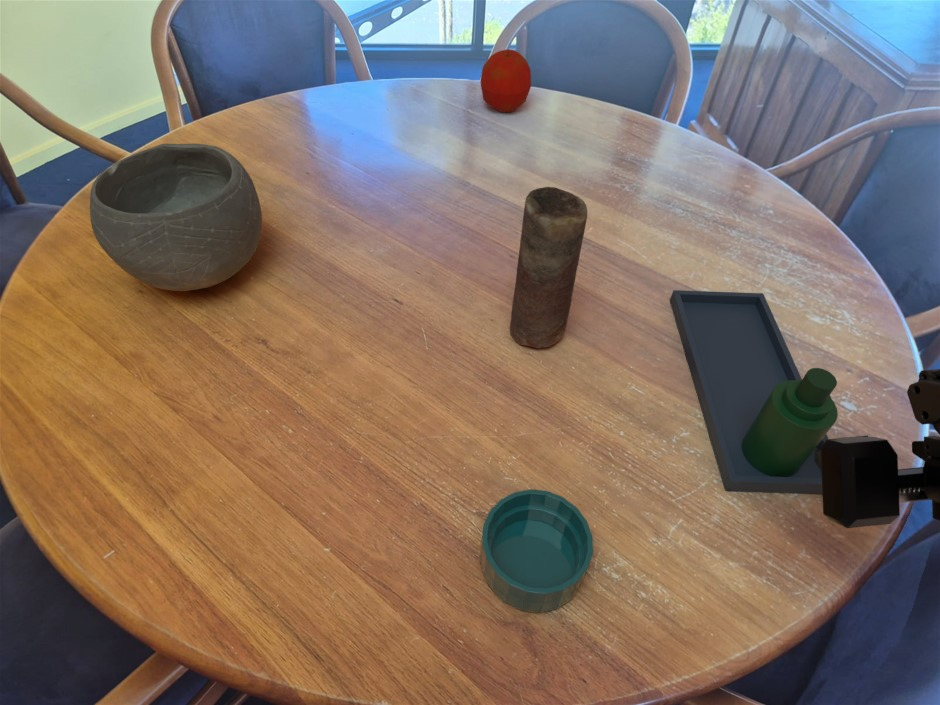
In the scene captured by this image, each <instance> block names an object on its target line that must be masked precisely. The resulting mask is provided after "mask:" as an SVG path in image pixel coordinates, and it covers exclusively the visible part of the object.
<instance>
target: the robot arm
mask: <svg viewBox="0 0 940 705" xmlns="http://www.w3.org/2000/svg"><path fill="white" fill-rule="evenodd" d="M906 395H907V397H908V400H909V403H910V407H911V410H912V413H913V417H914V419H915V420H916V421H917V422H918V423H919V424H921V425H931V426H932V427H933V429H934V430H935V432H936V433H937V434H938V435H939V436H938V435H929V436H923V440H913V441H912V442H911V453H912V454H913V455H914V456H916V457H918V458H919V459H921V460H922V461H923V462H924V464H923V466H917V467H908V468H907V467H906V468H899V458H898V453H897V452H896V450H895V449H894V448H893V446H892V444H891V443H890V442H889V440H888V439H885V438H882V437H875V436H869V435H857V436H846V437H845V436H844V437H837V438H829V439H827V440H826V441H825V442H824V443H823V445H822V446H821V447H820V450H815V462H816V464H817V465H818V467H819V468H820V470H821V474H822V494H821V495H822V515H823V516H824V517H826V518H827V519H828V520H829V521H831V522H833V523H835V524H837V525H839V526H842V527H844V528H846V529H854V528H863V527H872V526H874V527H875V526H883V525H891V524H892V523H893V522H894V521H896V519H897V518H899V517H900V514H901V511H900V504H903V503H912V502H913V503H914V502H923V501H931V510H932V511H931V512H932V514H931V515H932V519H934V520H937V521H939V522H940V368H936V369H935V368H934V369H923V370H921V371H920V372H919V373H918V381H916V382H913V383H911V384H909V386H908V388H907V391H906Z"/></svg>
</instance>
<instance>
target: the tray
mask: <svg viewBox="0 0 940 705" xmlns="http://www.w3.org/2000/svg"><path fill="white" fill-rule="evenodd" d="M669 303H670V307H671V309H672V314H673V317H674V319H675V323H676V327H677V330H678V331H677V332H678V334H679V338H680V341H681V344H682V347H683V351H684V355H685V357H686V361H687V366H688V368H689V371H690V375H691V378H692V383H693V385H694V388H695V392H696V396H697V399H698V403H699V405H700V406H699V407H700V408H701V409H700V410H701V413H702V416H703V419H704V423H705V426H706V429H707V433H708V436H709V440H710V443H711V447H712V450H713V455H714V458H715V462H716V464H717V467H718V471H719V475H720V477H721V481H722V485H723V488H724V491H725V492H743V493H748V492H750V493H770V494H771V493H773V494H805V495H822V474H821V470H820V468H819V467H818V465H817V464H816V462H815V450H820V447H821V446H822V445H823V443H824V442H825V441H826V440H827V439H830V438H829V436H828V433H827V434H826V435H825V436H824V438H823V439H822V440H821V442H820V443H819V444H818V446H817V447H816V448H815V449H814V451H813V452H812V453H811V455H810V456H809V457H808V459H807V460H806V461H805V463H804V464H803V465H802V466H801V468H800V469H799V470H798V472H797V473H795V474H794V475H792V476H789V477H772V476H768V475H766V474H764V473H761V472H760V471H758V470H757V469H755V468H754V467H753V466H752V465H751V464H750V463H749V462H748V461H747V459H746V458H745V456H744V454H743V451H742V441H743V439H744V437H745V435H746V434H747V432H748V430H749V429H750V427H751V425H752V424H753V422H754V420H755V419H756V417H757V416H758V414H759V412H760V411H761V409H762V407H763V406H764V404H765V402H766V401H767V399H768V397H769V396H770V394H771V392H772V391H773V389H774V388H775V386H776V385H778V384H779V383H781V382H784V381H789V380H796V381H797V380H802V379H803V378H802V377H801V374H800V371H799V369H798V368H797V366H796V363H795V361H794V359H793V356H792V354H791V352H790V350H789V347H788V345H787V343H786V340H785V338H784V336H783V334H782V332H781V330H780V327H779V325H778V323H777V321H776V318H775V316H774V314H773V312H772V309H771V308H770V305H769V303H768V300H767V299H766V297H765V294H764V292H735V291H711V290H710V291H709V290H708V291H707V290H706V291H705V290H679V289H678V290H677V289H673V290H672V293H671V296H670V298H669Z"/></svg>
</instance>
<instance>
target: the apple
mask: <svg viewBox="0 0 940 705" xmlns="http://www.w3.org/2000/svg"><path fill="white" fill-rule="evenodd" d="M481 68H482V69H481V75H480V88H481V94H482V99H483V101H484V102H485V103H486V104H487V105H489V106H490V107H491V108H492V109H494V110H496V111H498V112H500V113H511V112H514V111H516V110H517V109H518V108H520V107H521V106H522V105H523V104H524V103H525V102H526V101H527V99H528V97H529V93H530V90H531V87H532V72H531V67H530V65H529V63H528V61H527V59H526V58H525V57H524V55H522V54H521V53H519V52H518V51H516V50H514V49H509V48H507V49H503V50H499V51H497V52H495V53H493V54H491V56H490V57H489V58H488V59H487V60H486V62H485V63H484V65H483V66H482V67H481Z"/></svg>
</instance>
